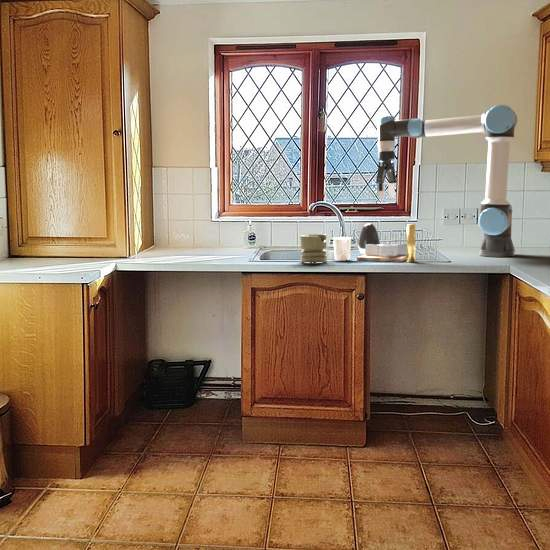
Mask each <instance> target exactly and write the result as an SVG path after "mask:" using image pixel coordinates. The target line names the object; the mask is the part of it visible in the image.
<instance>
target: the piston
mask: <svg viewBox="0 0 550 550" xmlns="http://www.w3.org/2000/svg"><path fill="white" fill-rule="evenodd" d="M327 246H328V245H327V234H323V233H321V234H320V233H319V234H318V233H314V234H313V233H309V234H308V235H301V234H300V249H301V251H300V255H301V256H300V263H301V262H310V263H312V262H313V263H316V262H326V263H327V261H328V258H327V253H328V252H327V250H325V249H327Z"/></svg>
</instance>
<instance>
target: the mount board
mask: <svg viewBox="0 0 550 550" xmlns="http://www.w3.org/2000/svg"><path fill="white" fill-rule="evenodd" d="M358 260H368V261H367V262H386V261H391V263H393V262H395V263H402V262H405V261H407V255H400V256H397V257H378V256H366V254H365V255H363V254H361V255H360V256H359V255H358V256H357V257H356V261H358Z"/></svg>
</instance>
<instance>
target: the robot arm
mask: <svg viewBox="0 0 550 550" xmlns="http://www.w3.org/2000/svg"><path fill="white" fill-rule="evenodd" d="M395 118H396V117H395V116H394V115H382V116H379V117H378V118H377V144H376V146H377V147H378V148H377V150H378V152H377V160H378V169H377V174H376V180H375V184H376V185H377V187H378V189H377V191H378V198H377V199H385V195H386V194H385V191H386V190H385V186H386V185H385V179H386V175H387V179H388V198H395V197H396V196H395V191H396V190H395V189H396V185H395V184H397V182H398V181H397V177H396V169H395V163H394V161H393V160H395V158H396V152H395V150H396V147H395V146H396V144H395V143H396V142H395V140H396V139H395V138H403V137H405V138H406V137H407V138H412V139H420V138H428V137H429V138H430V137H440V136H441V137H442V136H451V135H453V136H454V135H463V134H467V135H468V134H478V133H483V135H484V139H485V140H486V141H487V143H488V144H487V158H486V159H487V162H486V175H485V176H486V177H485V178H486V179H485V195H484V200H483V201H481V202H480V214H479V217H478V226H479V229H480V230H481V231H482V232H483V241H482V243H481V246H480V249H479V256H484V257H488V258H489V257H493V258H496V257H497V258H502V257H503V258H507V257H508V258H509V257H515V256H516V250H515V246H514V243H513V240H512V227H513V226H512V225H513V224H512V221H513V220H512V219H513V218H512V217H513V215H512V214H513V207H512V204H510V202H509V201H508V199H507V194H508V193H507V191H508V178H509V175H508V174H509V162H510V161H509V159H510V143H511V141H512V140H514V139H515V128H516V126H517V124H518V116H517V114H516V112H515V111H514V110H513V108H512V107H510V106H508V105H506V104H496V105H493V106H491V108H489V109H488V110H487V112H486V111H485V112H484V113H482V114H480V115H479V114H478V115H469V116H459V117H458V116H457V117H448V118H435V119H426V120H425V119H424V120H423V119H422V120H421V119H420V118H407V119H405V118H404V119H395Z"/></svg>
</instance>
